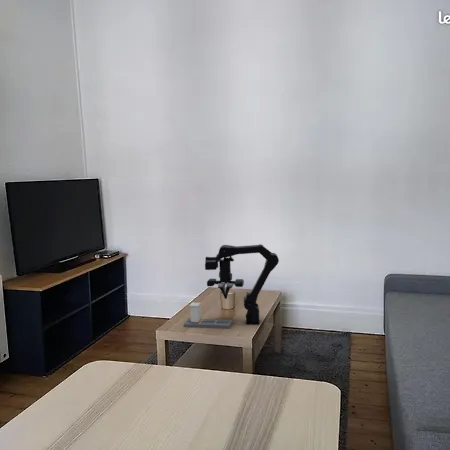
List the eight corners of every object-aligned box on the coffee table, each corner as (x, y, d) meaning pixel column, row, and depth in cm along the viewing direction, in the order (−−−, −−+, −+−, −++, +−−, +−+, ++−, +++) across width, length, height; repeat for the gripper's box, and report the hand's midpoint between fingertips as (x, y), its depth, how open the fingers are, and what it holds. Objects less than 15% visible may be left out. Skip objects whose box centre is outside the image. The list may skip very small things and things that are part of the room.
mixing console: (232, 322, 243) (232, 319, 243) (229, 328, 234) (229, 325, 234) (188, 321, 247) (188, 318, 247) (183, 326, 239) (183, 323, 238)
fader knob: (201, 319, 244) (200, 302, 243) (198, 322, 239) (198, 305, 237) (192, 318, 245) (192, 302, 244) (190, 322, 239) (189, 305, 238)
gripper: (244, 266, 246) (245, 294, 248) (210, 265, 249) (211, 294, 251) (242, 271, 235) (242, 300, 237) (206, 270, 238) (207, 300, 240)
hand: (225, 298), depth 241 cm, fingers closed
